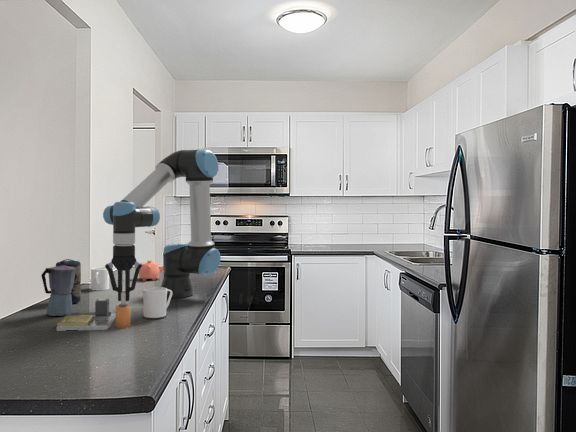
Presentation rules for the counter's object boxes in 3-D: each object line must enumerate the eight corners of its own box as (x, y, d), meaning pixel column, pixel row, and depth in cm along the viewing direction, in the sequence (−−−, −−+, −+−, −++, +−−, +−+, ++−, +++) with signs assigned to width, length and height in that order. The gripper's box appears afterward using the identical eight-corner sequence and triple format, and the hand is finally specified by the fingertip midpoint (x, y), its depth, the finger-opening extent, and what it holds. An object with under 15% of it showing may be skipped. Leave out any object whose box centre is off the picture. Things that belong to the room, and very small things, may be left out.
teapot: (152, 276, 277) (153, 258, 276) (167, 279, 270) (167, 260, 269) (130, 280, 265) (130, 260, 265) (145, 282, 258) (145, 263, 258)
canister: (71, 305, 204) (71, 261, 203) (50, 304, 206) (50, 260, 205) (85, 301, 213) (85, 258, 212) (65, 299, 215) (65, 257, 214)
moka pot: (84, 311, 195) (84, 259, 194) (54, 320, 180) (53, 264, 180) (64, 309, 198) (64, 258, 197) (33, 318, 184) (32, 263, 183)
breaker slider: (109, 313, 185) (109, 298, 184) (107, 316, 181) (107, 300, 180) (97, 314, 184) (97, 298, 184) (95, 316, 180) (95, 300, 180)
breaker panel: (115, 317, 187) (115, 310, 187) (107, 329, 170) (107, 321, 170) (69, 318, 184) (69, 310, 184) (56, 331, 167) (56, 322, 167)
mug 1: (86, 292, 231) (86, 270, 230) (93, 287, 243) (93, 267, 242) (104, 292, 232) (104, 270, 231) (110, 287, 244) (110, 267, 243)
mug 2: (145, 320, 183) (145, 292, 183) (140, 315, 191) (140, 288, 190) (175, 317, 188) (175, 290, 188) (169, 312, 196) (169, 286, 195)
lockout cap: (131, 324, 178) (131, 302, 177) (129, 328, 173) (129, 305, 173) (117, 324, 177) (117, 303, 176) (114, 328, 172) (114, 306, 172)
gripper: (144, 243, 187) (143, 307, 188) (106, 243, 185) (106, 307, 186) (141, 245, 180) (141, 312, 181) (103, 245, 178) (102, 312, 179)
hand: (123, 309), depth 183 cm, fingers closed
